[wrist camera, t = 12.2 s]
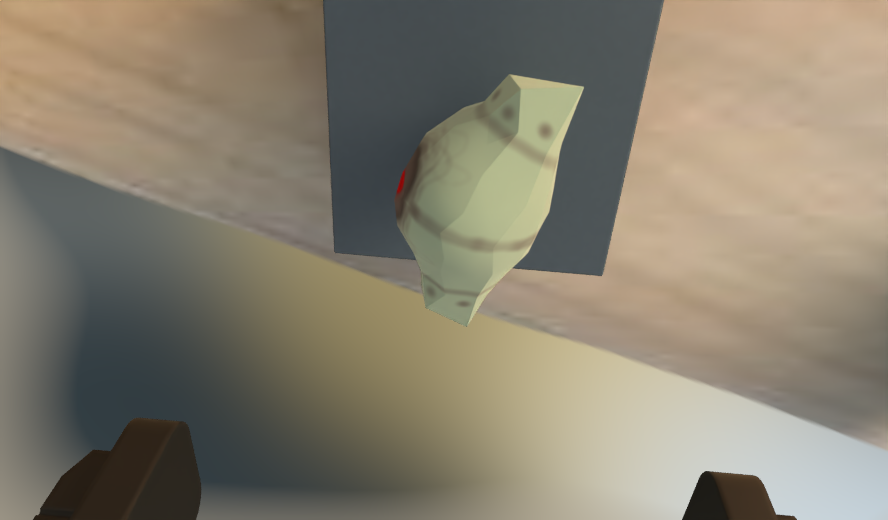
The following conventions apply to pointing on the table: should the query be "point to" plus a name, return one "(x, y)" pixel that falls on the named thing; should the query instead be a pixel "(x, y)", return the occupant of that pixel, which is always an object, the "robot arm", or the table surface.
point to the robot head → (483, 190)
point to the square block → (472, 81)
